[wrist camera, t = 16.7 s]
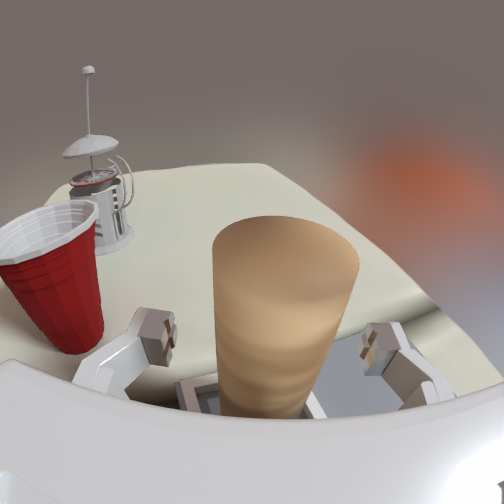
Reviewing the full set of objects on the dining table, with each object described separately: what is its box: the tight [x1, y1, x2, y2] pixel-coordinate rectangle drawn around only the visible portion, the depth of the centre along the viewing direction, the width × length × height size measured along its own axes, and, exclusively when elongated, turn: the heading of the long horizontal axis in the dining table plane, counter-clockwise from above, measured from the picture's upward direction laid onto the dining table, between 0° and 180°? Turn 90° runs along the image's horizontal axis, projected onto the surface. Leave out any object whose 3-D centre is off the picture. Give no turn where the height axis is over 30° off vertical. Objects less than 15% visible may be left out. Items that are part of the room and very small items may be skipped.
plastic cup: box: [0, 200, 104, 355], centre depth 19 cm, size 11×11×12 cm
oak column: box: [212, 216, 360, 419], centre depth 12 cm, size 4×4×13 cm
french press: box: [62, 66, 135, 256], centre depth 31 cm, size 10×12×25 cm
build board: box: [175, 320, 457, 419], centre depth 15 cm, size 20×16×3 cm
